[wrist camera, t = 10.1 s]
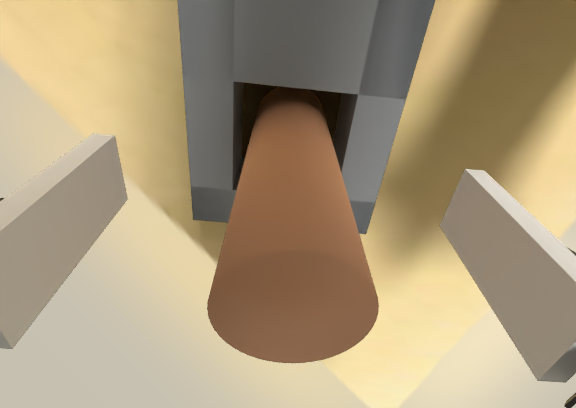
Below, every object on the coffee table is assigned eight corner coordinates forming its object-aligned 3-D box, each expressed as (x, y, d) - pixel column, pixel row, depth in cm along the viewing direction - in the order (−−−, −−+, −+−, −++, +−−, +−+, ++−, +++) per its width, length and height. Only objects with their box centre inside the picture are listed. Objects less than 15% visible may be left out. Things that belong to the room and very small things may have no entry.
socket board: (188, -329, 11) (144, -470, 8) (474, -280, 12) (550, -392, 8) (207, 184, 22) (193, 219, 19) (354, 197, 22) (366, 234, 19)
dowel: (258, 81, 18) (204, 243, 6) (329, 88, 18) (400, 258, 7) (255, 147, 20) (209, 358, 9) (318, 153, 21) (357, 367, 9)
